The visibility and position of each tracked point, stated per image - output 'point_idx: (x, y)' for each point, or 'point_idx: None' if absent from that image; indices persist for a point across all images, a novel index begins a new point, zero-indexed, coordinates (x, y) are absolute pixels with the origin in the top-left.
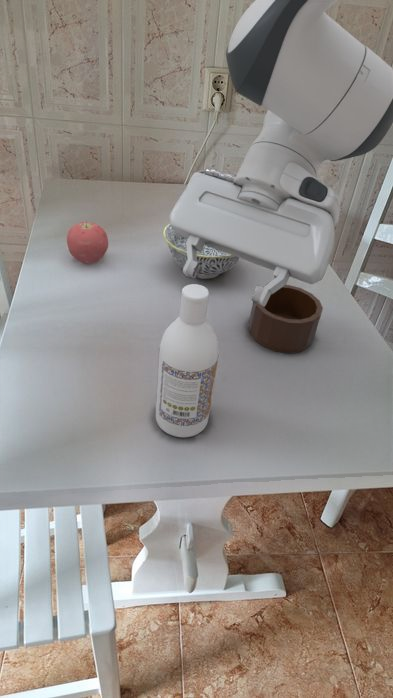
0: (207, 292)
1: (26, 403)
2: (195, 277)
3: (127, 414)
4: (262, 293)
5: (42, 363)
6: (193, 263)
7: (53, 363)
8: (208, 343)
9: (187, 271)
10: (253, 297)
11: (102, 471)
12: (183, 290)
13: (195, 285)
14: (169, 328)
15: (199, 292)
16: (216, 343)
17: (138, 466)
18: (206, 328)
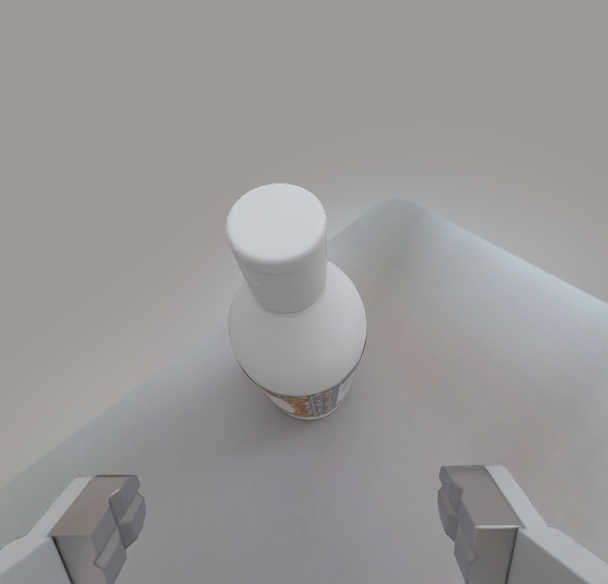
0: (234, 237)
1: (491, 267)
2: (440, 500)
3: (377, 334)
4: (68, 505)
5: (564, 333)
6: (491, 513)
7: (554, 344)
8: (235, 295)
9: (476, 468)
10: (121, 477)
11: (335, 253)
12: (310, 194)
13: (295, 242)
14: (340, 272)
15: (257, 218)
16: (230, 332)
17: None
18: (244, 291)
